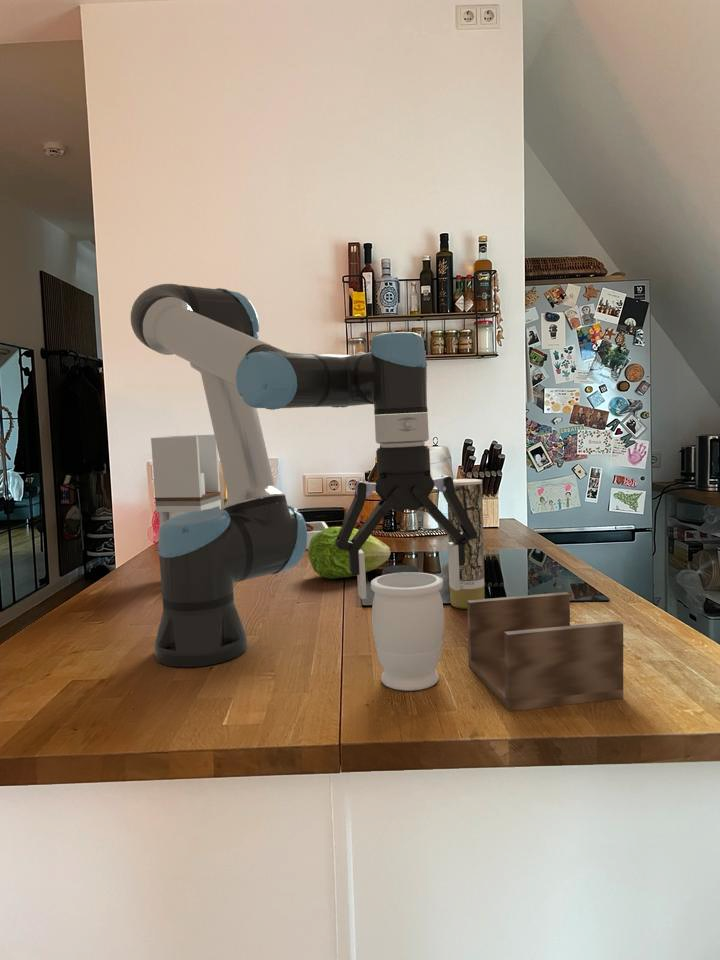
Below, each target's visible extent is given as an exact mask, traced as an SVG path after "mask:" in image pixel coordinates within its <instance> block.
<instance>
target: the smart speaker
mask: <svg viewBox="0 0 720 960" xmlns="http://www.w3.org/2000/svg"><path fill="white" fill-rule="evenodd" d="M402 572H419V573H422V570H421V568H419V567H418V566H415V565H409V564H406V565H405V564H401V565H400V564H398V565H390V566H387V567H385V568H384V569H383V570H382V571H381V576H382V575H386V574H392V573H402Z"/></svg>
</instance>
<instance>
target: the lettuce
mask: <svg viewBox="0 0 720 960" xmlns="http://www.w3.org/2000/svg"><path fill="white" fill-rule="evenodd" d="M341 527H342V526H330V527H328V528H327V529H324V530H323V531H321V532H319V533H318V534H316V535H315V536H313V537H312V538H311V541H310V545H309V549H307V552H308V558H309V563H310V564H311V568H312V570H313V572H315V573H316V574H318V576H321V577H323V578H326V579H332V580H335V579H343V578H344V579H345V578H353V577H357V575H352V573H351V571H350V566H349V552H348V551H346V550H343V549H342V550H341V549H339V548H338V547H337V545H336V544H335V541H336V539H337V536H338V534H339V532H340V529H341ZM358 530H359V528H358V529H357V528H354V529H353V531H352V533H351V536H350V538H349V540H348V541H351V540H352V538H353V537H354V536H355V534H356V533H357V532H358ZM360 550H362V551H363V552H364V556H365V573H368V572H370V571H373V570H375V569H377V568H378V567H380V566H381V565H382V564H384V563H386V562H387V560H389V559H390V555H391V548H390V547H389V546H388V545H387V544H386V543H384V542H383V541H381V540H379V539H378V538H377V537H375V536H373V535H372V534H371V535H370V536H369V537H368V539H367V540H366V541H365V543H364V544H363V545H362V547H361V548H360Z"/></svg>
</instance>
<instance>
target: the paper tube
mask: <svg viewBox="0 0 720 960" xmlns="http://www.w3.org/2000/svg"><path fill="white" fill-rule="evenodd" d="M453 484H454V490H455V493H456V495H457V497H458V499H459V501H460V502H461V504H462V506H463V508H464V510H465V512H466V514H467V515H468V517H469V519H470V521H471V523H472V525H473V527H474V528H475V530H476V532H477V537H476V538H475V539H470V540H468V541H467V543H466V544H465V564H464V566H459V579H460V590H456V591H455V590H454V589H452V588H451V587H450V586H449V596H450V597H449V599H450V600H449V601H450V604H451V605H452V606H453V607H454V608H457V609H462V610H467V601H468V600H480V599H486V598H485V558H484V556H485V551H484V550H485V549H484V508H483V507H484V505H483V503H484V501H483V500H484V499H483V479H480V478H479V479H477V478H456V479H455V478H454V479H453ZM447 519H448V520H449V521H450V522H451V523H452V524H453V525H454V527H455V528H456V529H457V530H458V531H459V532H462V529H461V527H460V525H459V523H458V521H457V520H456V518H455V516H454V514H453V512H452V510H451V508H450V507H449V505H448V504H447ZM449 542H453V543H454V540H453V539H452V538H451V537H450V536H449V535H448V543H449Z"/></svg>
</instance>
